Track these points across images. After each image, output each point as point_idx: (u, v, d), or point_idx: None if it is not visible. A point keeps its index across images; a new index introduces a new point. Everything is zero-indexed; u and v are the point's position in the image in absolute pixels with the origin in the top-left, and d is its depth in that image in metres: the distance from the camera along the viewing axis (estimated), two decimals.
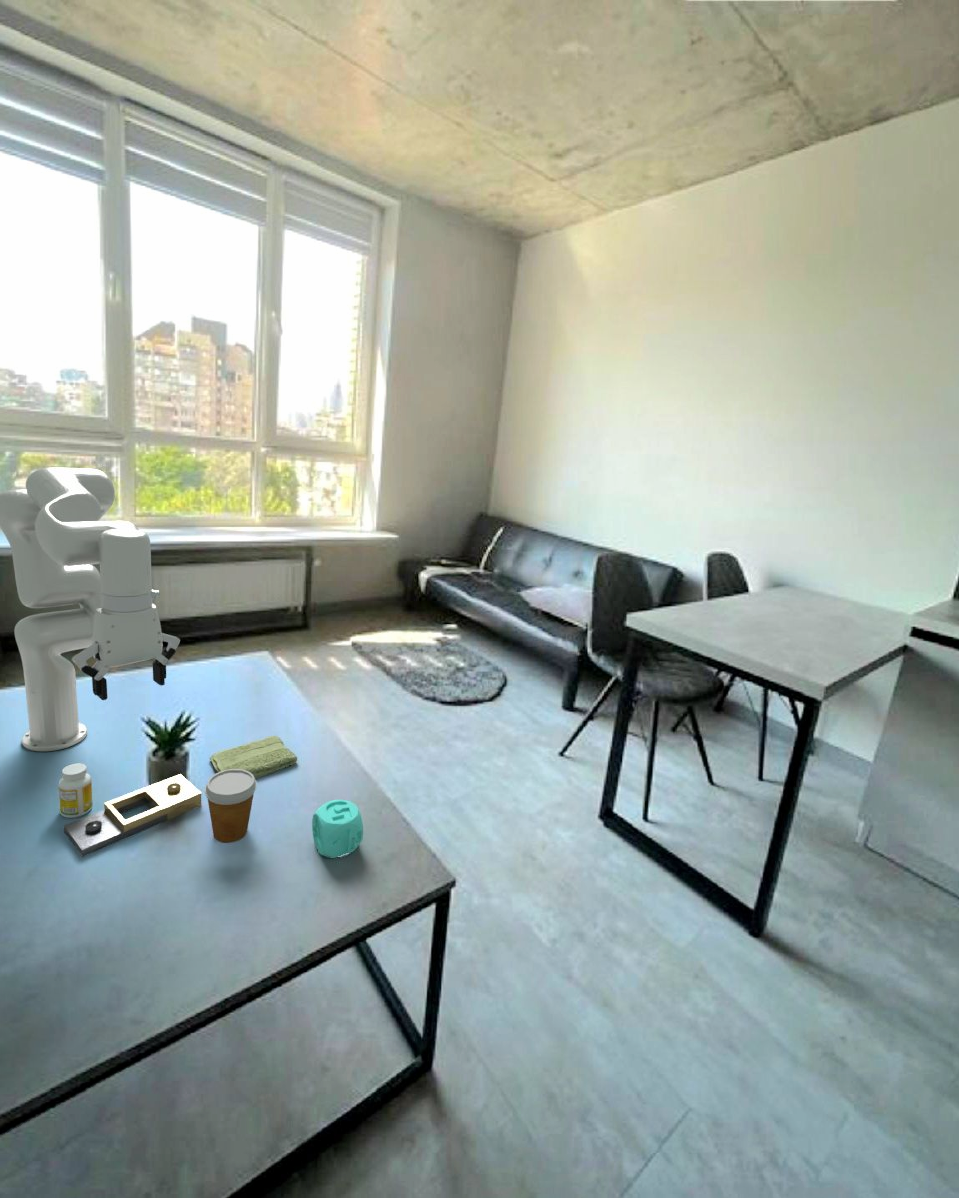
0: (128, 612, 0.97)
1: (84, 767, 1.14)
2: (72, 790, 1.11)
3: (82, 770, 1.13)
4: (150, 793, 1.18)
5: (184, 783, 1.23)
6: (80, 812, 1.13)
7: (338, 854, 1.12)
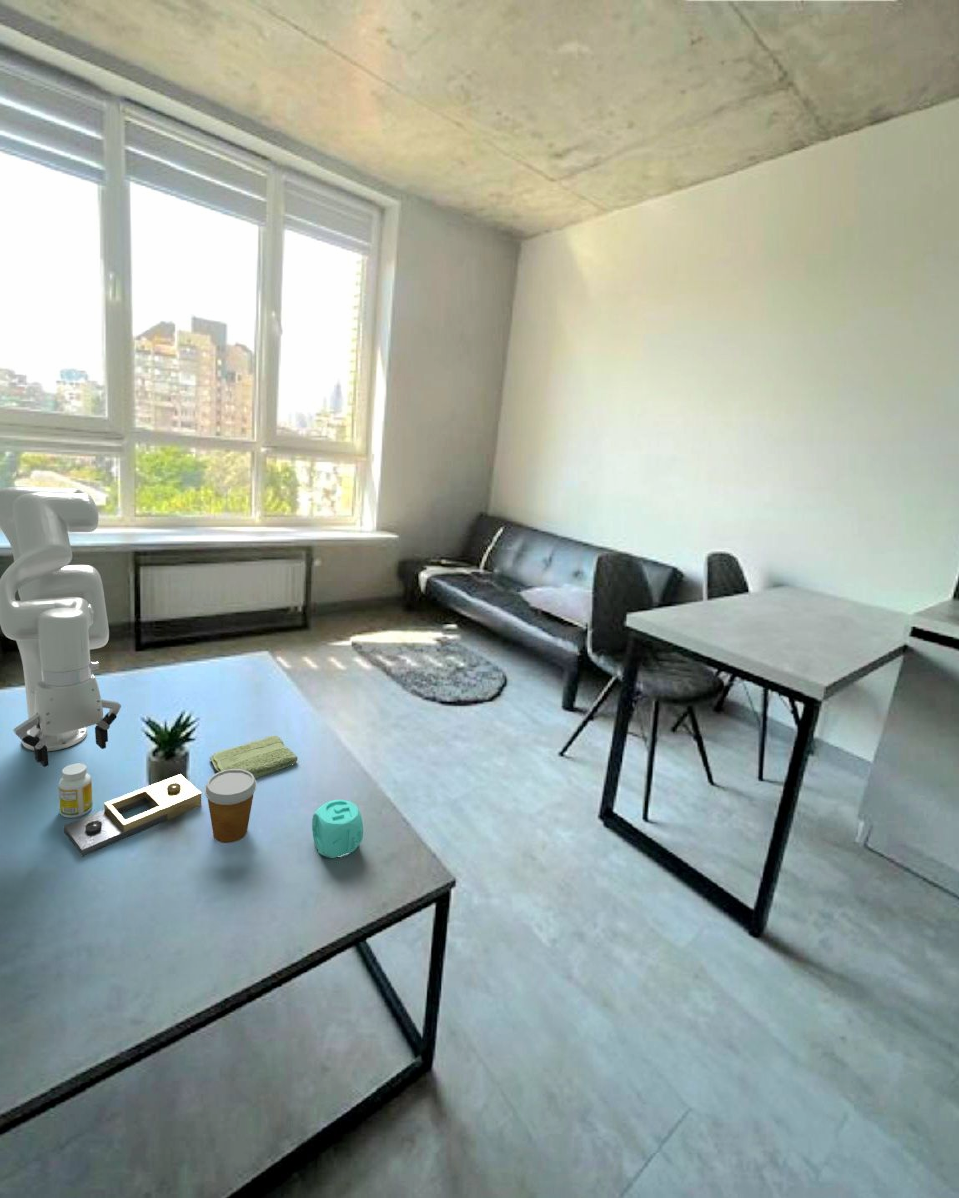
0: (66, 686, 1.04)
1: (84, 767, 1.14)
2: (72, 790, 1.11)
3: (82, 770, 1.13)
4: (150, 793, 1.18)
5: (184, 783, 1.23)
6: (80, 812, 1.13)
7: (338, 854, 1.12)
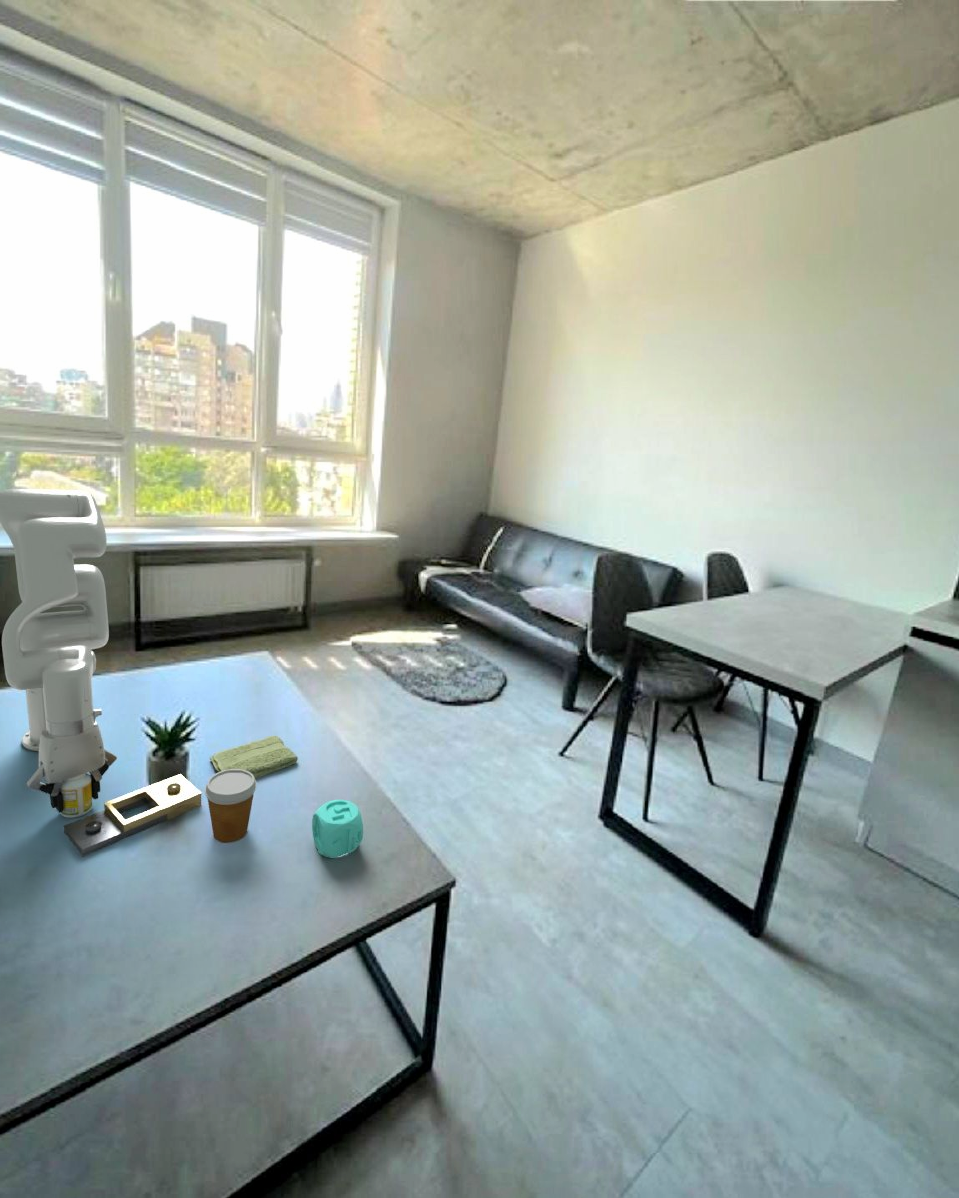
0: (69, 735, 1.07)
1: None
2: (72, 790, 1.11)
3: None
4: (150, 793, 1.18)
5: (184, 783, 1.23)
6: (80, 812, 1.13)
7: (338, 854, 1.12)
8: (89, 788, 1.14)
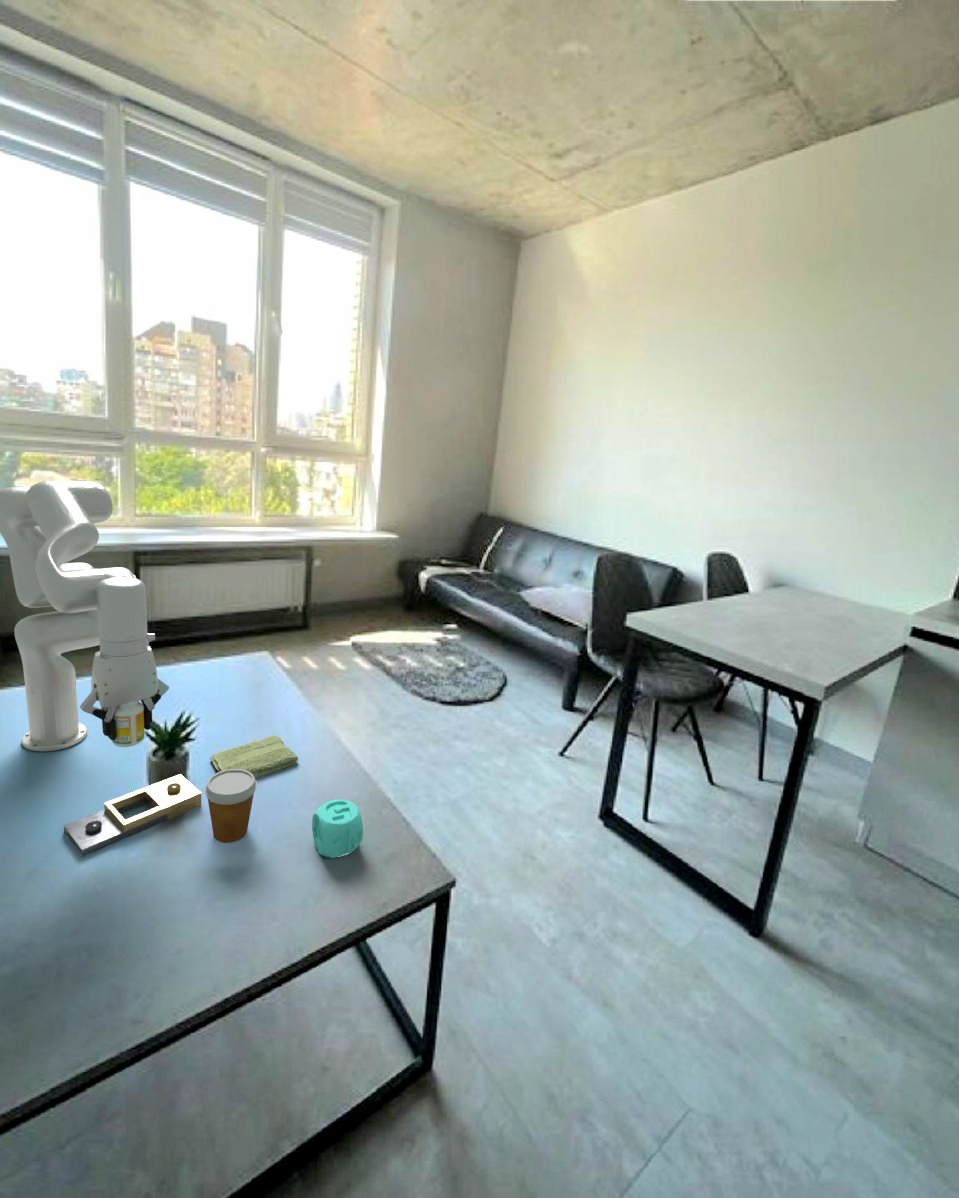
0: (124, 656, 1.02)
1: None
2: (125, 717, 1.06)
3: None
4: (150, 793, 1.18)
5: (184, 783, 1.23)
6: (133, 742, 1.08)
7: (338, 854, 1.12)
8: (142, 717, 1.09)
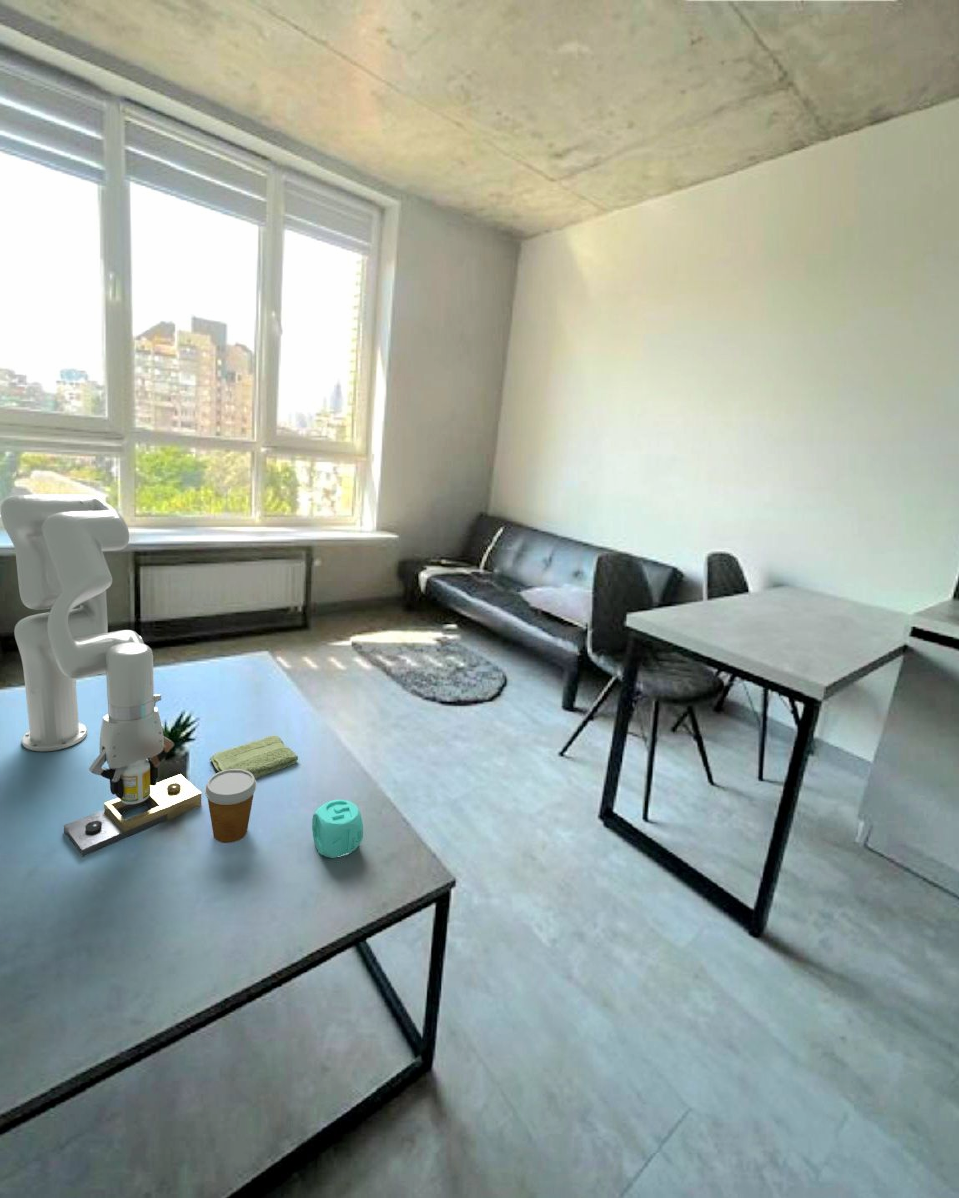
0: (132, 720, 1.06)
1: None
2: (133, 776, 1.10)
3: None
4: (150, 793, 1.18)
5: (184, 783, 1.23)
6: (140, 799, 1.12)
7: (338, 854, 1.12)
8: (148, 774, 1.13)
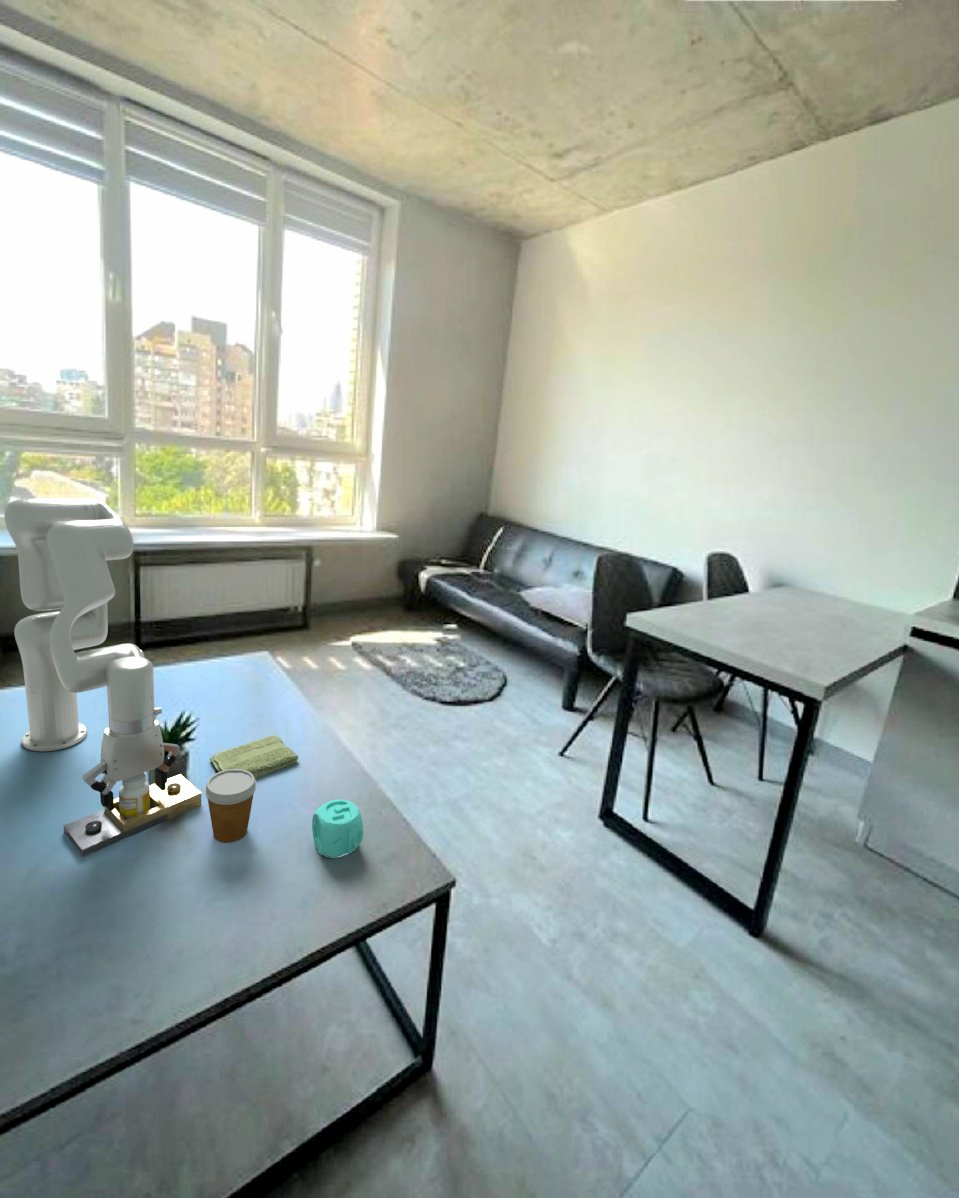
0: (133, 734, 1.06)
1: (143, 775, 1.14)
2: (133, 799, 1.11)
3: (142, 778, 1.13)
4: (150, 793, 1.18)
5: (184, 783, 1.23)
6: None
7: (338, 854, 1.12)
8: (148, 796, 1.14)
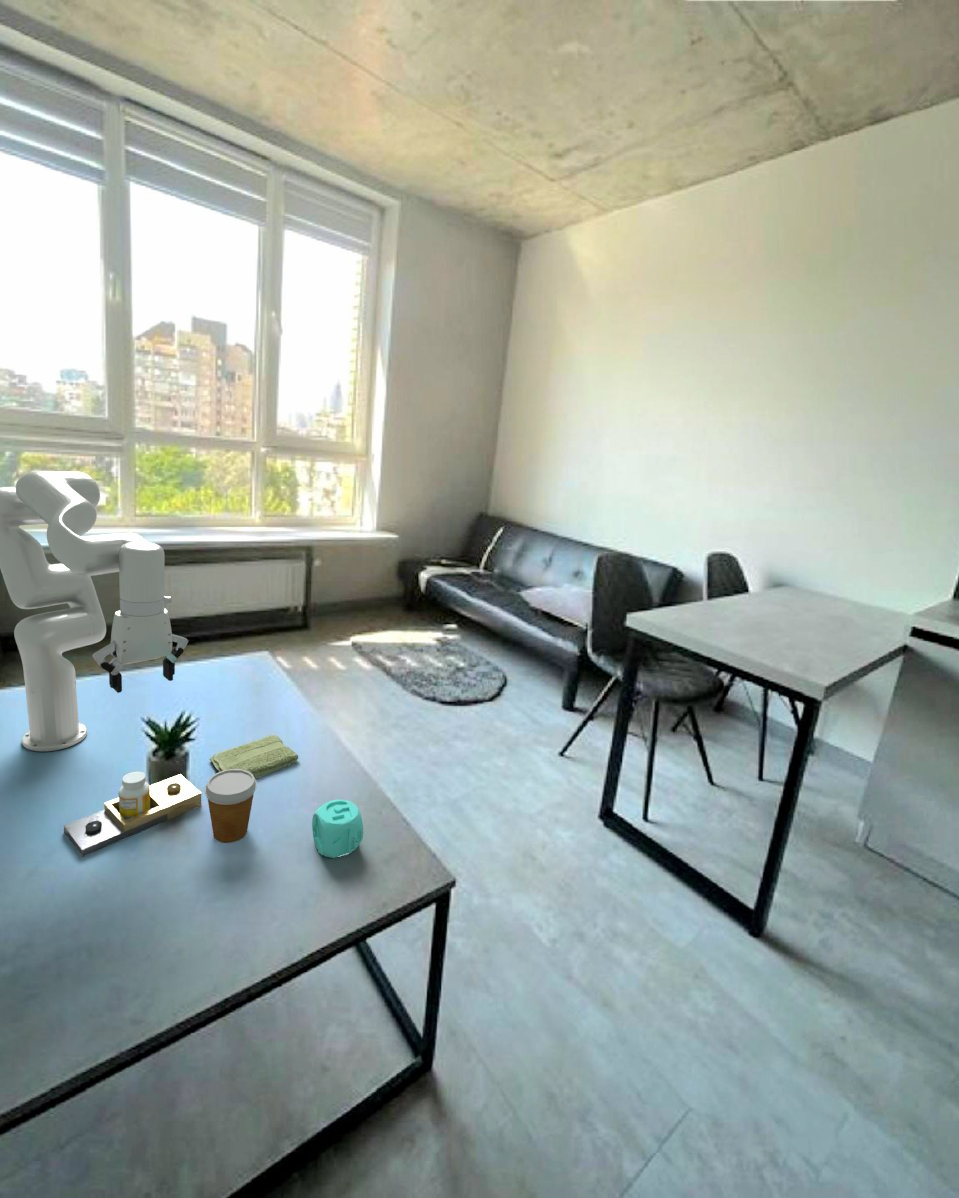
0: (142, 616, 1.09)
1: (143, 775, 1.14)
2: (133, 798, 1.11)
3: (142, 778, 1.13)
4: (150, 793, 1.18)
5: (184, 783, 1.23)
6: None
7: (338, 854, 1.12)
8: (148, 796, 1.14)
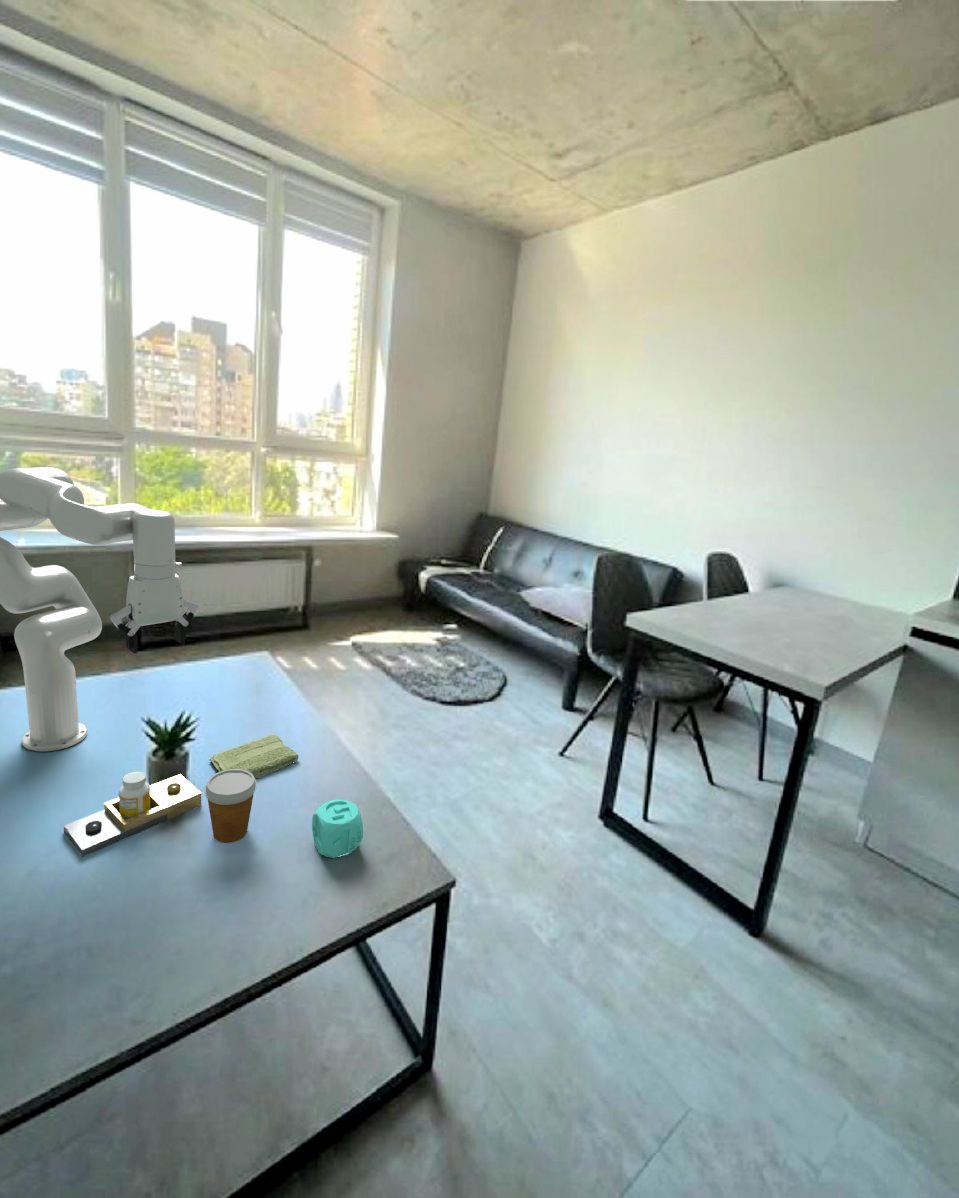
0: (156, 579, 1.16)
1: (144, 775, 1.14)
2: (133, 798, 1.11)
3: (142, 778, 1.13)
4: (150, 793, 1.18)
5: (184, 783, 1.23)
6: None
7: (338, 854, 1.12)
8: (148, 796, 1.14)
